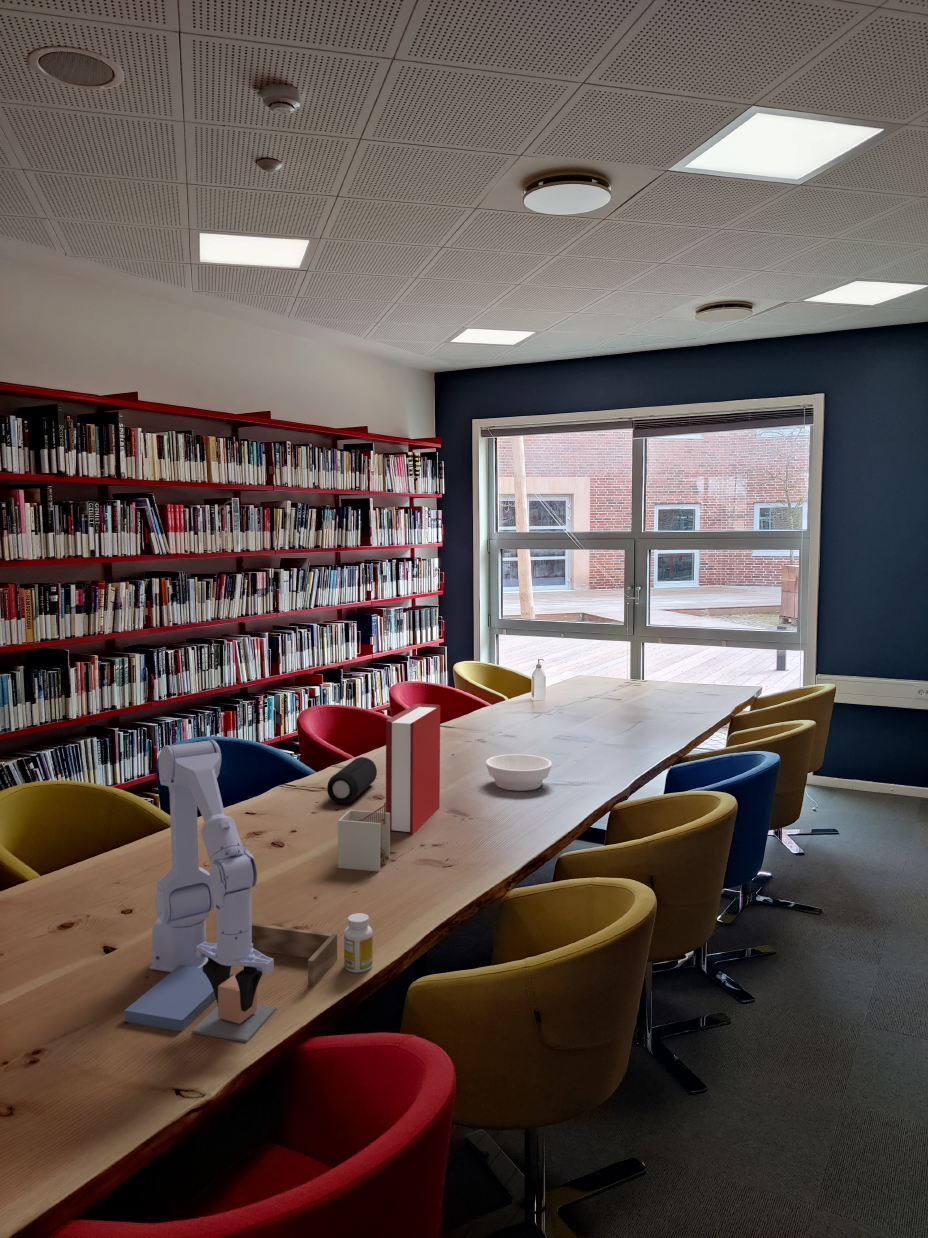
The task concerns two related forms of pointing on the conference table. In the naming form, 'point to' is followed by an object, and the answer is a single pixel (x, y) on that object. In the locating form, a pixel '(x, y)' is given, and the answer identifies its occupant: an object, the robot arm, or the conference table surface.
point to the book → (413, 766)
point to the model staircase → (364, 839)
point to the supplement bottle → (358, 944)
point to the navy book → (174, 1000)
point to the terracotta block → (233, 1002)
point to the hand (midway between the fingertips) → (235, 1005)
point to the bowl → (518, 771)
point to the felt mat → (234, 1025)
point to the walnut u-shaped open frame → (298, 946)
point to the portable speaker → (351, 780)
